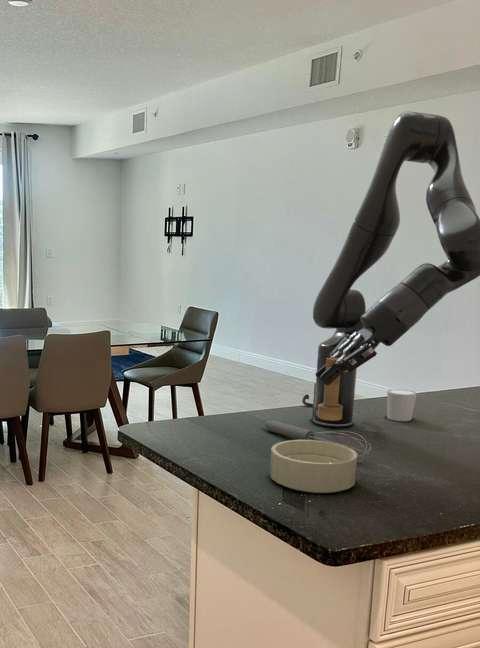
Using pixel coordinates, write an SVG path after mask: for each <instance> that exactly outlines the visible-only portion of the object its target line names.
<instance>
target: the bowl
mask: <svg viewBox="0 0 480 648" xmlns="http://www.w3.org/2000/svg"><path fill="white" fill-rule="evenodd" d="M337 443H338V442H335V443H333V442H332V441H331V442H329V441H327V442H326V441H325V440H324V441H322V440H318V439H314V440H299V439H289V440H284V441H280V442H277V443H275V444H273V445H272V447H271V449H270V463H269V476H270V478H271V480H273V482H275V483H276V484H278V485H281V486H283V487H285V488H287V489H291V490H294V491H299V492H302V493H303V492H304V493H313V494H331V493H338V492H342V491H346V490H349V489H351V488H352V487H354V486H355V484H356V479H357V478H356V477H357V466H358V462H357V461H358V457H357V456H359V455H358V452H357V451H355V449H354V448H350V446H349V447H347V446H348V445H346V446H343V445H344V444H342V445H340V444H341V443H339V444H337ZM353 449H354V450H353Z"/></svg>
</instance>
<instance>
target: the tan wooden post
mask: <svg viewBox="0 0 480 648" xmlns="http://www.w3.org/2000/svg"><path fill="white" fill-rule="evenodd" d="M338 359H339V358H335V357H330V358H327V359H326V370H327V369H328V368H329V367H330V366H332V365H333V364H335V362H336V361H337V360H338ZM335 365H336V364H335ZM339 383H340V376H338V377H337V378H336V379H335V380H334V381H333V382H332V383H331V384H329V385H325V387H324V402H323V403H321V404H319V405H318V416H317V417H318V418H320V419H323V420H330V421H336V420H341V419H342V411H343V406H342V405H340V404H338V397H339Z"/></svg>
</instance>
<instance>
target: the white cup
mask: <svg viewBox="0 0 480 648" xmlns="http://www.w3.org/2000/svg"><path fill="white" fill-rule="evenodd" d="M416 398H417V392H416V391H413V390H409V389H389V390H387V391H386V402H387V404H386V407H387V408H386V409H387V410H386V411H387V412H386V413H387V415H386V416H387V417H386V418H387V419H388V420H391V421H396V422H409V421H412V419H413V413H414V409H415V404H416V400H417V399H416Z"/></svg>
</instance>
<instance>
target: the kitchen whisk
mask: <svg viewBox="0 0 480 648" xmlns="http://www.w3.org/2000/svg"><path fill="white" fill-rule="evenodd" d="M263 428H264V429H265V430H266V432H272V433H274V434H278V435H282V436H285V437H288V438H292V439H294V440H318V441H326V442H331V443H337V444H340V445H343V446H347V447H349V448H351V449H353V450H354V451H355V452H358V453H362V454H360V455H357V458H358V457H361V456H362V457H361V458H360V459H359V460H357V463H363V462H365V461H366V460H367V459H368V455H371V452H370V451H371V449H372V444H370V443H369V442H368V441H366V439H365V438H364V437H363V436H362V435H361V434H359V433H356V432H353V431H346V430H338V434H339V435H334V437H335V438H336V437H337V438H342V436H340V434H341V435H344V438H346V439H351V440H352V439H353V440H355V441H357V442H358V443H359V444H360V446H362V449H363V450H361V449H359V448H356V447H353V446H349V445H346V444H341V443H339V442H335V441H331V440H328V439H324V438H320V436H321V437H330V435H329V434H328V433H331V434H337V431H335V430H327V431H318V432H316V433H315V432H314V431H313V430H310V429H307V428H306V429H305V428H302V427H298V426H295V425H292V424H287V423H283V422H280V421H276V420H269V419H266V420H265V421H264V422H263ZM322 433H323V434H322ZM324 433H325V434H324ZM326 433H327V434H328V435H327V434H326ZM346 433H349V434H354V435H357V436H359V437H361V438H362V439H358V438H356V437H354V436H352V435H349V434H346ZM316 436H319V437H316ZM361 442H365V446H364V445H363V444H362V443H361ZM368 445H369V446H370V447H369V449H368ZM367 449H368V450H367ZM364 457H365V459H364ZM363 459H364V460H363Z"/></svg>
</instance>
